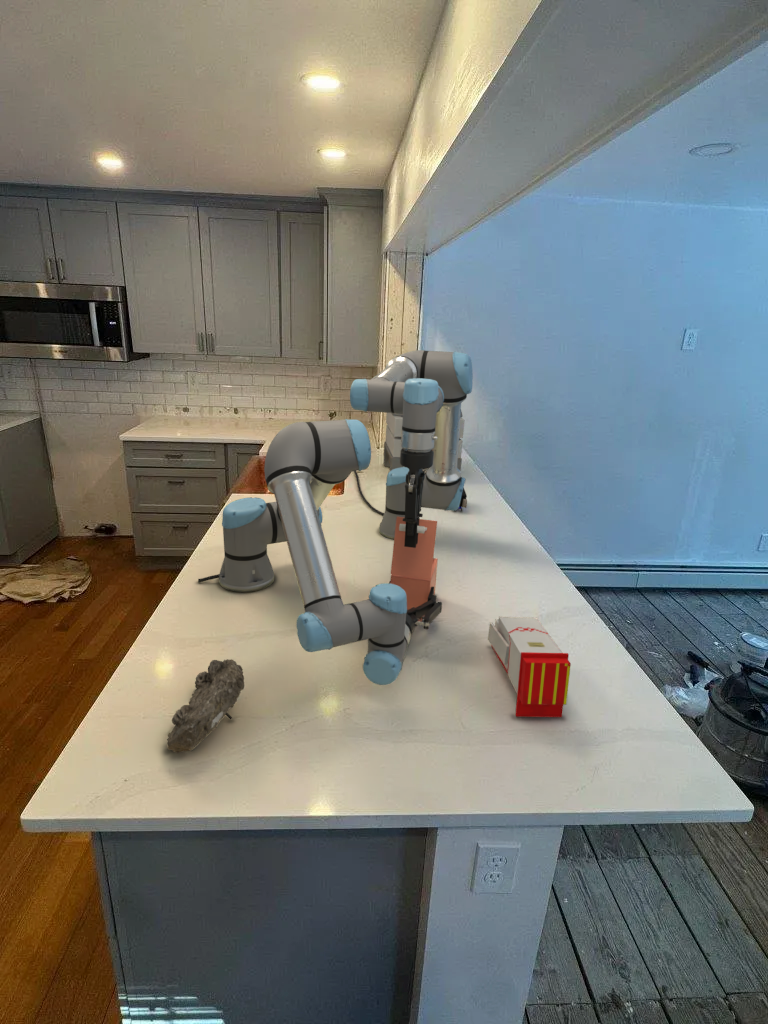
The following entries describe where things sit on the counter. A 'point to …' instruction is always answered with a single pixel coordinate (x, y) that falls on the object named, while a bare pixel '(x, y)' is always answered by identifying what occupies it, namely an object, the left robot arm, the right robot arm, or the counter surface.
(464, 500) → the figurine character
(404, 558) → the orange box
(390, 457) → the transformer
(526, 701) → the toy
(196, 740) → the fossil
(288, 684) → the counter surface
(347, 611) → the left robot arm
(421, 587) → the chest
